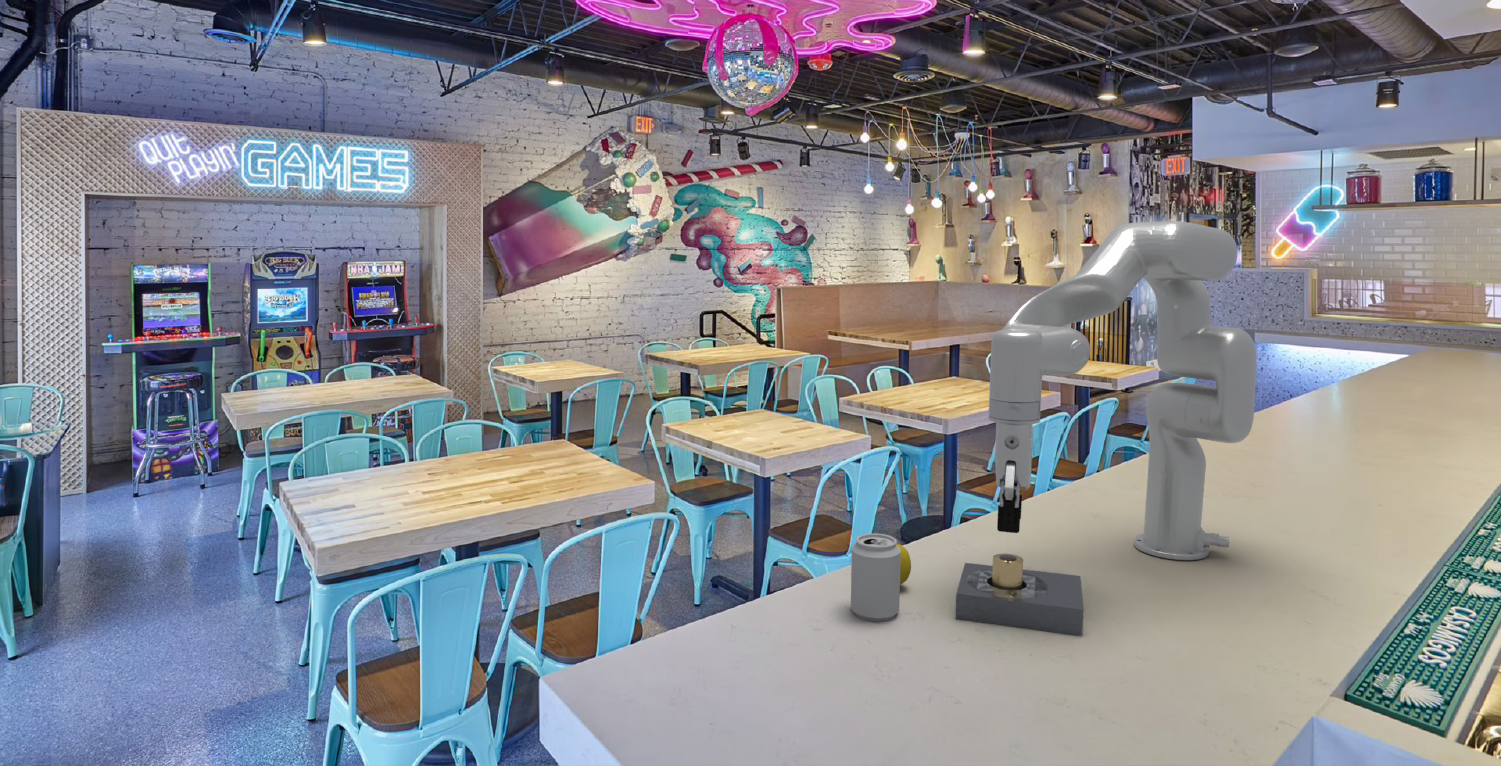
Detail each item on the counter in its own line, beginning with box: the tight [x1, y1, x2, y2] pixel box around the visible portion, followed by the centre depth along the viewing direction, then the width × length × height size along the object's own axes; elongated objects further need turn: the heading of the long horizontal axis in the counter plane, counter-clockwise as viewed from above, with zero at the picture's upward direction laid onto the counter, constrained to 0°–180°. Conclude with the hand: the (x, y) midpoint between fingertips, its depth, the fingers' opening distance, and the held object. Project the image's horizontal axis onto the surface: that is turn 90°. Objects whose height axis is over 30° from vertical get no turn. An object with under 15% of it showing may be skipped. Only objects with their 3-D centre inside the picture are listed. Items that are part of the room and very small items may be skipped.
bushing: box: [992, 552, 1024, 591], centre depth 132 cm, size 4×4×8 cm
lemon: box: [896, 542, 912, 586], centre depth 140 cm, size 6×6×8 cm
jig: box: [954, 562, 1084, 637], centre depth 132 cm, size 18×14×4 cm
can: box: [850, 533, 901, 622], centre depth 130 cm, size 8×8×12 cm
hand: (1009, 523), depth 131 cm, fingers open, 6 cm apart
